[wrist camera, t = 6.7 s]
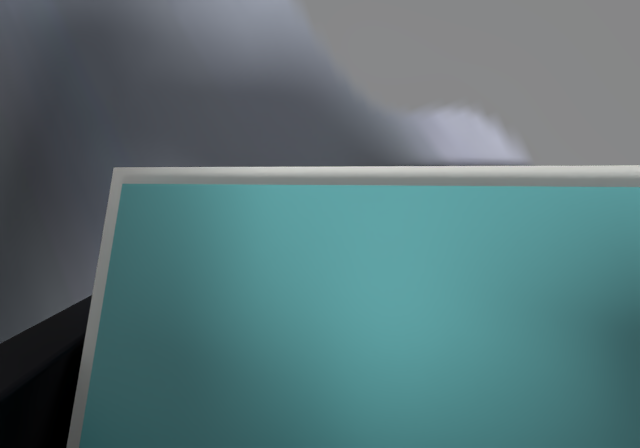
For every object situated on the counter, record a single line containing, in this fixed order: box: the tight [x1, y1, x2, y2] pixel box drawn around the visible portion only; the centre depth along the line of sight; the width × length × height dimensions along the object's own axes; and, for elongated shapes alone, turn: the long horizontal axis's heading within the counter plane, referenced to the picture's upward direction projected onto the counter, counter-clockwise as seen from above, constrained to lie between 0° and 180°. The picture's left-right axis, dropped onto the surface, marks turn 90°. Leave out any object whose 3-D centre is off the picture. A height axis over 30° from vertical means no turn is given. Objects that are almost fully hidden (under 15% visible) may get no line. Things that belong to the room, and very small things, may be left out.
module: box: [66, 165, 640, 448], centre depth 9 cm, size 5×7×9 cm
